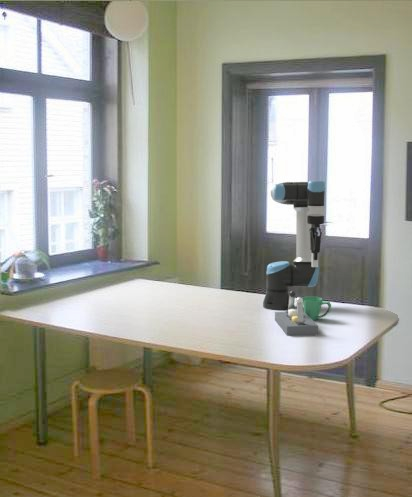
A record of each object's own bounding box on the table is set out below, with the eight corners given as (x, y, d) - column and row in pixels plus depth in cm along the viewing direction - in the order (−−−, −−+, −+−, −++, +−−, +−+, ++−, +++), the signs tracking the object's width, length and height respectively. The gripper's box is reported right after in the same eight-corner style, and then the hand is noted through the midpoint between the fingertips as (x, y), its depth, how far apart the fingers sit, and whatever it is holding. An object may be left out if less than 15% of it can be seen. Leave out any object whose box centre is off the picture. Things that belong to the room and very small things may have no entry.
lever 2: (296, 322, 323) (295, 297, 325) (303, 321, 323) (301, 297, 325) (298, 321, 320) (296, 296, 322) (304, 321, 320) (303, 296, 322)
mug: (298, 319, 347) (298, 299, 345) (306, 315, 355) (307, 295, 353) (326, 323, 339) (327, 302, 337) (334, 319, 347) (335, 299, 345)
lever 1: (286, 309, 344) (288, 289, 338) (293, 309, 344) (295, 289, 339) (288, 312, 341) (290, 293, 336) (294, 312, 341) (296, 292, 336)
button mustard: (290, 324, 331) (290, 316, 331) (301, 324, 332) (301, 315, 331) (292, 327, 326) (292, 318, 326) (303, 326, 327) (303, 318, 326)
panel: (274, 320, 345) (274, 311, 345) (303, 319, 347) (303, 310, 346) (286, 335, 318) (287, 325, 317) (318, 334, 319) (318, 325, 319)
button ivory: (287, 317, 339) (287, 309, 338) (297, 317, 339) (297, 308, 338) (289, 319, 334) (289, 311, 333) (300, 319, 334) (300, 311, 334)
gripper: (304, 213, 330) (303, 264, 333) (311, 216, 317) (310, 269, 320) (320, 213, 331) (319, 264, 334) (327, 216, 318) (326, 269, 321)
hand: (314, 266), depth 327 cm, fingers closed
